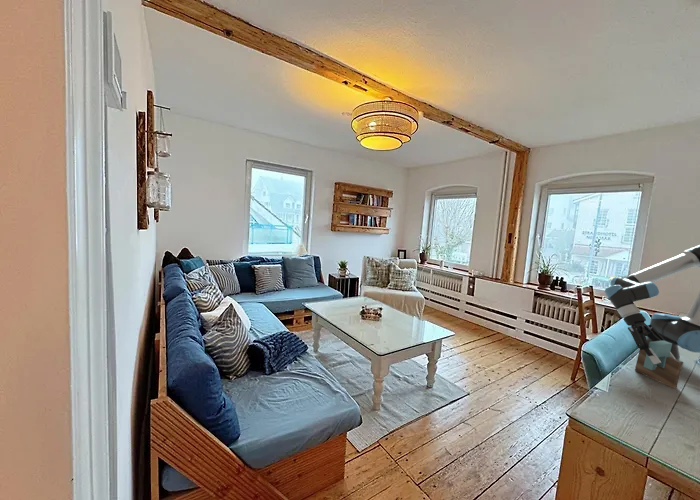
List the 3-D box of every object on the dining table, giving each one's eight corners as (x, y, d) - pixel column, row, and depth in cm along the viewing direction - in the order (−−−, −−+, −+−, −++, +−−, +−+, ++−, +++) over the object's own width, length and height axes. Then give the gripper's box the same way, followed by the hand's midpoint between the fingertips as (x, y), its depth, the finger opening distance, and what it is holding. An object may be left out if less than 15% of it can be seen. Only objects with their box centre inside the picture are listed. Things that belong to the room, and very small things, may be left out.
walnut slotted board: (638, 370, 144) (643, 346, 142) (676, 387, 130) (683, 361, 129) (634, 370, 143) (640, 347, 141) (673, 388, 130) (679, 362, 128)
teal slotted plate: (657, 364, 139) (663, 340, 137) (665, 368, 136) (672, 343, 134) (643, 366, 136) (649, 341, 134) (651, 370, 133) (657, 345, 131)
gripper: (639, 317, 151) (672, 362, 139) (608, 319, 145) (640, 366, 132) (654, 311, 146) (690, 357, 133) (623, 313, 139) (657, 362, 126)
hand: (665, 362), depth 133 cm, fingers closed on teal slotted plate, 10 cm apart
